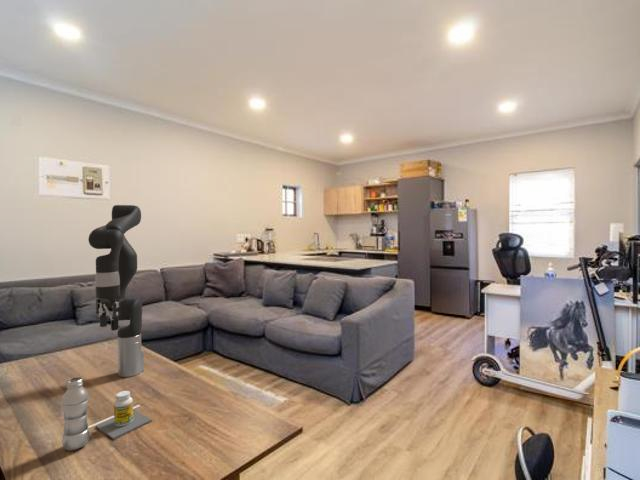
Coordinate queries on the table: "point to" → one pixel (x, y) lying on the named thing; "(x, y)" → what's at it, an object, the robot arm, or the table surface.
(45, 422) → the table surface
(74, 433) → the plastic bottle
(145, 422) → the mat
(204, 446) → the table surface
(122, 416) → the supplement bottle
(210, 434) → the table surface
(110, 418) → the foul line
